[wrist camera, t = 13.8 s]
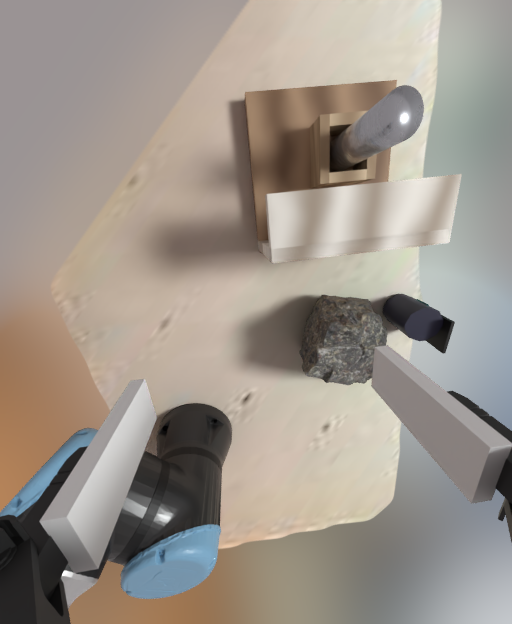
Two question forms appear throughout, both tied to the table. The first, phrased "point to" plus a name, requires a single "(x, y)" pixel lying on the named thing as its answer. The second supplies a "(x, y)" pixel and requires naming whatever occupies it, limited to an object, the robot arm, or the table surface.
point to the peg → (378, 128)
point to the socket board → (334, 180)
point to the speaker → (419, 320)
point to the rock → (342, 340)
